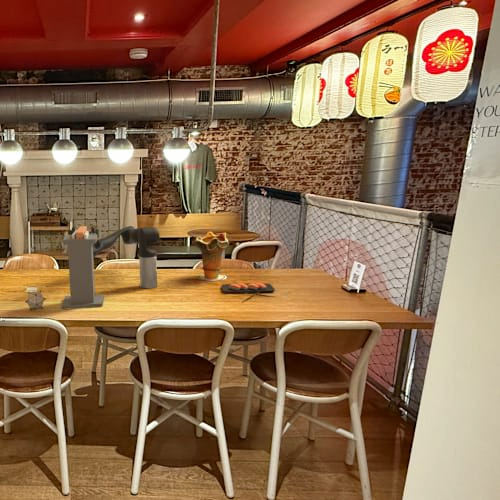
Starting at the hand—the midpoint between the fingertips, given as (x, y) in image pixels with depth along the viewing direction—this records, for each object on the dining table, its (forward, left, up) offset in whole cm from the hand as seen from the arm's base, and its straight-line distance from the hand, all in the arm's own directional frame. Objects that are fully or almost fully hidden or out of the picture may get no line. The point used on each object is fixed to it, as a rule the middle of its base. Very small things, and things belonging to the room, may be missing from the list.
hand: (82, 228), depth 208 cm
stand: (0, +13, -34) cm, 37 cm away
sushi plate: (-84, +16, -35) cm, 92 cm away
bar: (0, +7, -2) cm, 7 cm away
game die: (+20, +19, -35) cm, 44 cm away
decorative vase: (-71, -22, -35) cm, 82 cm away
